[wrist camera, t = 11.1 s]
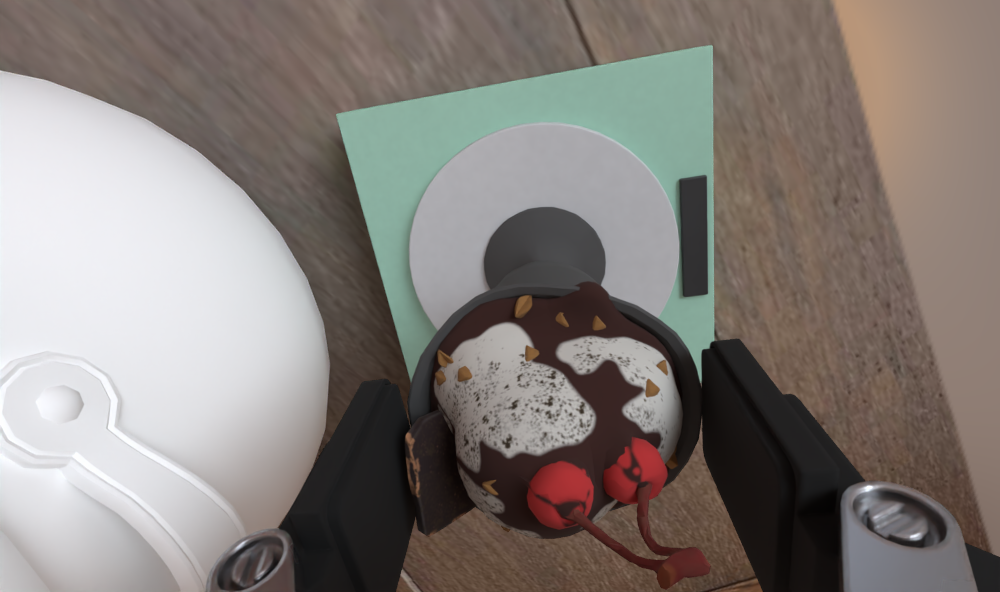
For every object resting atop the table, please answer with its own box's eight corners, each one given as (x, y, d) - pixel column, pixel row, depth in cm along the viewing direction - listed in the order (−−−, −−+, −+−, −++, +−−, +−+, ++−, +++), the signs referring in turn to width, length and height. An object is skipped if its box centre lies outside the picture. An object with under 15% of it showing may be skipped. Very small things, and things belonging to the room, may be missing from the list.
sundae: (654, 212, 20) (933, 536, 6) (590, 355, 22) (680, 805, 9) (491, 159, 19) (384, 373, 6) (446, 311, 22) (298, 710, 8)
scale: (693, 47, 20) (718, 43, 17) (699, 354, 25) (719, 389, 23) (355, 110, 22) (329, 115, 19) (428, 385, 27) (416, 420, 24)
